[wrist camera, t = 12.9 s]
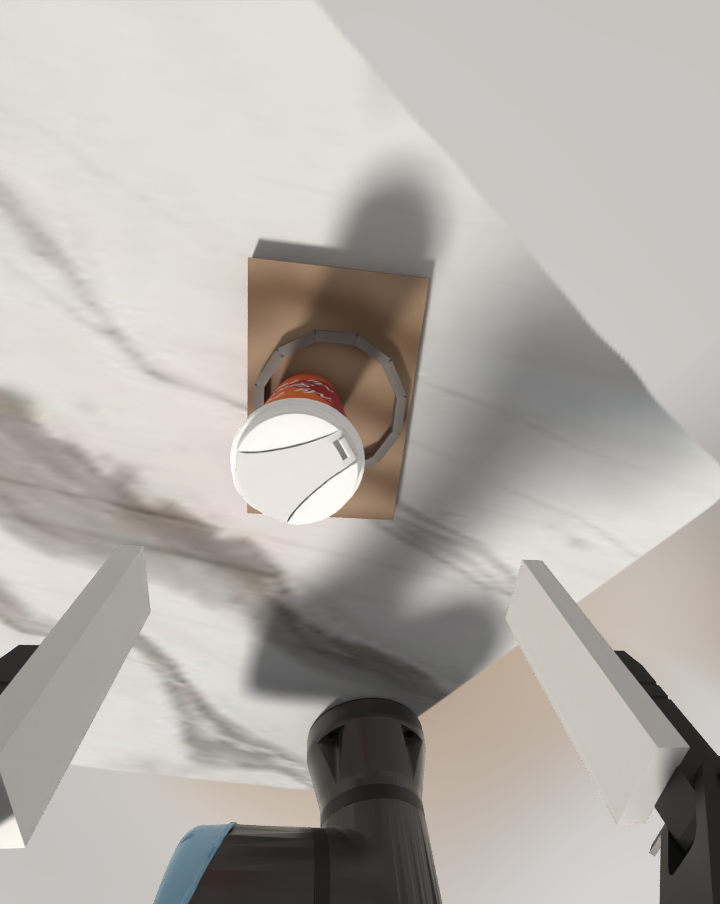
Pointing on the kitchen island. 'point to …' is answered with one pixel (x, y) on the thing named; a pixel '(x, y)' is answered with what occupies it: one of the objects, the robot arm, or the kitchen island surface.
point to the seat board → (342, 356)
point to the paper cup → (298, 453)
